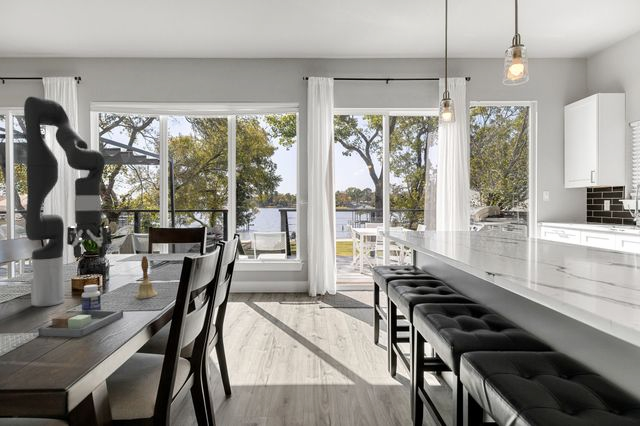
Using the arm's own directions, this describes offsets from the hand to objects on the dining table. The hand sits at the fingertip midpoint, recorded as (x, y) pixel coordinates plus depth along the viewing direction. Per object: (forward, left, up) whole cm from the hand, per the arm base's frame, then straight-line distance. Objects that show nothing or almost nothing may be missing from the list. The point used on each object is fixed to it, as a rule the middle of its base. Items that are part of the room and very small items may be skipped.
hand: (89, 257), depth 125 cm
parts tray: (+7, -12, -19) cm, 24 cm away
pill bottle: (0, 0, -19) cm, 19 cm away
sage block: (+9, -16, -19) cm, 27 cm away
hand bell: (+4, +25, -20) cm, 32 cm away
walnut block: (+4, -16, -19) cm, 25 cm away
